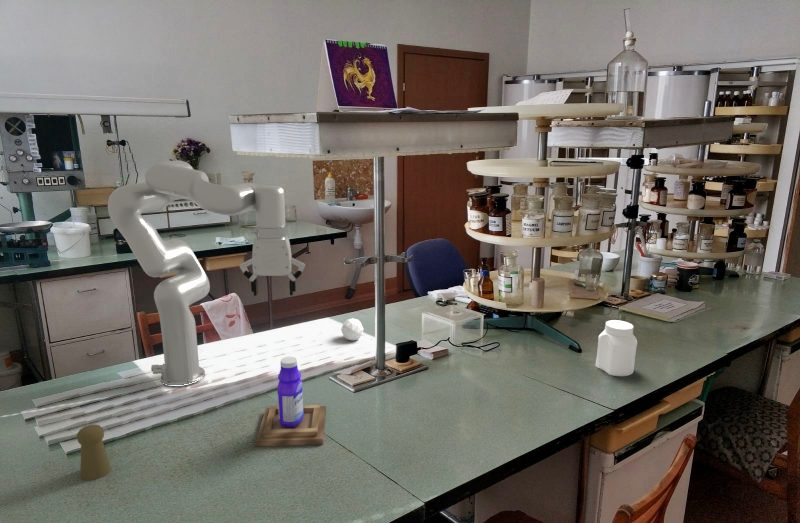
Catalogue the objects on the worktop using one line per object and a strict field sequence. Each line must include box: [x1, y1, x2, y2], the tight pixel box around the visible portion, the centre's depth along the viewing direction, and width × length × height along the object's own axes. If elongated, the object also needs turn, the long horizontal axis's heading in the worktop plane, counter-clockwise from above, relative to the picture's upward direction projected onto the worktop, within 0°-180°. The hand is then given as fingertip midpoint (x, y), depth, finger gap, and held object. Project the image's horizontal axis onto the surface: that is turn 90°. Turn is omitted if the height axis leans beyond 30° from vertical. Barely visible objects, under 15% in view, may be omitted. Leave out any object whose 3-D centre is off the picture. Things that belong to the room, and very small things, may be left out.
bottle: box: [276, 356, 304, 428], centre depth 143 cm, size 7×6×17 cm
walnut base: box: [255, 404, 327, 447], centre depth 145 cm, size 16×16×3 cm
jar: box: [595, 319, 638, 377], centre depth 180 cm, size 12×10×15 cm
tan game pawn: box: [76, 424, 112, 481], centre depth 125 cm, size 6×6×11 cm
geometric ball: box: [341, 317, 365, 342], centre depth 201 cm, size 8×8×8 cm
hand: (274, 294), depth 154 cm, fingers open, 9 cm apart
